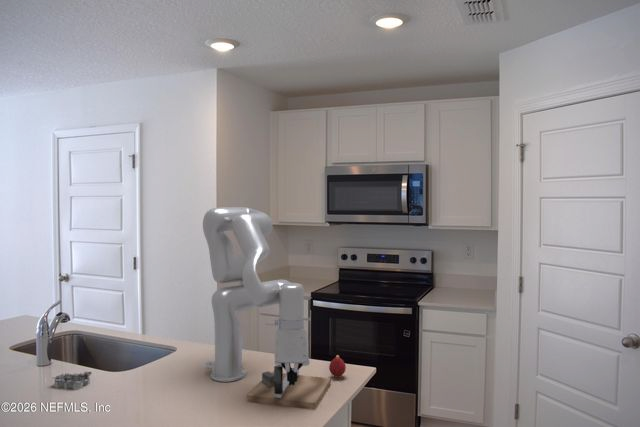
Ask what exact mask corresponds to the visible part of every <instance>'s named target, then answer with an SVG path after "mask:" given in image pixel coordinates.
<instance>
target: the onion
mask: <svg viewBox="0 0 640 427" xmlns="http://www.w3.org/2000/svg"><path fill="white" fill-rule="evenodd" d="M346 368H347V365H346V363H345V361H344V360H343V359H342V358H340V355H339V354H337V355H336V356H335V357H334V358H333V359H332V360H331V361H330V363H329V366H328V369H329V372H330V374H331V375H332V376H333V377H334V378H336V379H339V378H340V377H341V376H343V374H344V373H345V372H346Z"/></svg>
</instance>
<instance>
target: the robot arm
mask: <svg viewBox="0 0 640 427" xmlns="http://www.w3.org/2000/svg"><path fill="white" fill-rule="evenodd" d="M273 226H274V225H273V221H272V219H271V217H270V216H269V215H268V214H267V213H265V212H263V211H260V210H256V209H253V208H251V207H246V206H244V207H243V206H220V207H213V208H210V209H209V210H207V211H206V213H204V216H203V218H202V231H203V234H204V237H205V240H206V243H207V246H208V252H209V253H208V254H209V260H210V267H211V274H212V278H213V280H214V282H215V283H217V284H230V283H237V282H238V284H237V285H232V286H225V287H221V288H219V289H216V290H215V292H213V293H212V296H211V306H212V307H211V308H212V312H213V320H214V321H213V322H214V324H213V325H214V361H211V360H207V361H205V370H206V369H207V370H209V369H210V370H211V371H210V373H209V374H210V375H209V376H210V379H211V380H212V381H213V380H214V381H216V382H220V383H223V382H224V383H229V382H235V381H239V380H242V379H244V378H245V377H246V376H247V369H245V368H243V328H242V326H243V325H242V322H241V320H240V319H239V317H238V315H237V314H238V313H239V314H240V313H241V312H246V311H250V310H253V309H255V308H257V307H259V308H265V307H269V306H274V305H278V309H279V310H278V312H279V313H278V315H279V316H278V317H279V318H278V319H274V325H277V326H278V327H277V329H276V331H275V339H274V365H275V366H276V365H280V366H282V367H283V370H285V373H286V372H287V381H289V385H295V382H297V371H299V370H300V369H301V368H302V367H305V366H309V365H310V362H311V361H310V358H309V354H310V351H309V349H310V348H309V338H308V330H307V328H306V327H305V299H304V298H305V291H304V286H303V284H301V283H298V282H290V281H289V280H286V279H284V278H283V279H282V278H281V279H275V280H268V281H267V280H266V281H261V280H260V278H259V275H258V272H257V264H258V263H260V262H262V260H264V259H266V258H267V257H268V255H269V254H270V251H271V250H270V249H271V248H270V247H269V245H268V242H267V241H266V238H265V237H268V236H269V235H271V233H272V231H273ZM231 231H232V232H233V233H234V236H235V238H236V240H237V243H238V245H239V247H240V249H241V251H242V254H239V255H235V253H234V252H235V251H234V246H233V242H232V240H231V239H230V237H229V236H228V235H227V234H226V233H225V232H231ZM291 364H293V367H292V365H291ZM292 368H293V370H292Z"/></svg>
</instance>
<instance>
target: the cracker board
mask: <svg viewBox="0 0 640 427" xmlns="http://www.w3.org/2000/svg"><path fill="white" fill-rule="evenodd" d="M285 377H286V373H284V372H283V380H284V379H285ZM331 383H332V379H331V377H321V376H311V375H303V374H299V377H297V382H295V385H290V386H289V387H288V389H287V390H286V392H285V393H284V395H283V396H282V398H276V397H274V370H273V371H263V372H262V373H261V380H260V381H259V383H257V384H256V386H254V387H253V389H252V390H251V391H250V392H248V394H247V395H246V401H247V402H249V403H259V404H266V405H273V406H274V405H275V406H281V407H291V408H297V409H298V408H299V409H307V410H316V409H317V407H318V406H319V405H320V403H321V401H322V400H323V397H324V396H325V394H326V393H327V391H328V390H329V388H330V386H331V385H332V384H331Z"/></svg>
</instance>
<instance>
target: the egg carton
mask: <svg viewBox="0 0 640 427" xmlns="http://www.w3.org/2000/svg"><path fill="white" fill-rule="evenodd" d="M92 374H93V372H92V371H84V372H80V373H68V372H67V373H62V374H59V375H56V376H55V377H52V379H53V380H54V388H55V389H60V388H63V389H64V390H67V389H72V390H74V391H76V390H80V389H83V388H84V387H85V386H87V385H90V384H91V380H90V379H91V378H90V377H91V375H92Z"/></svg>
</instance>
